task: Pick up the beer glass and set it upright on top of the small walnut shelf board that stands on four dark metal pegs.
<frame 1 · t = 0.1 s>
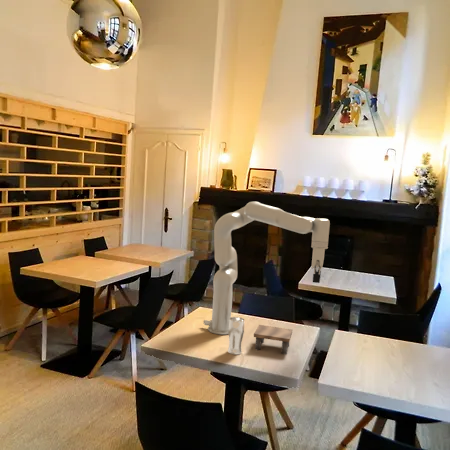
hand: (316, 280, 208), 31 cm above the table, tool pointing down, fingers open, 9 cm apart
peg shelf: (272, 347, 203), on the table
beer glass: (234, 352, 194), on the table
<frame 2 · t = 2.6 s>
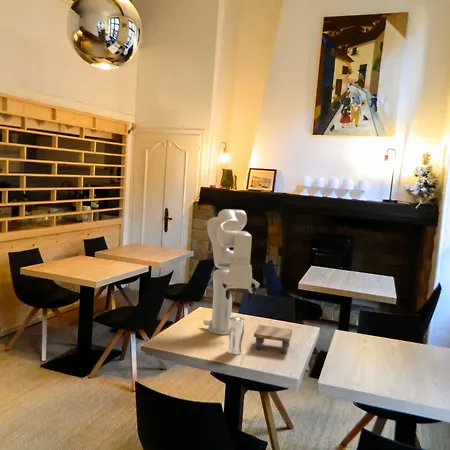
hand: (238, 300, 192), 24 cm above the table, tool pointing down, fingers open, 9 cm apart
nothing on the table moved.
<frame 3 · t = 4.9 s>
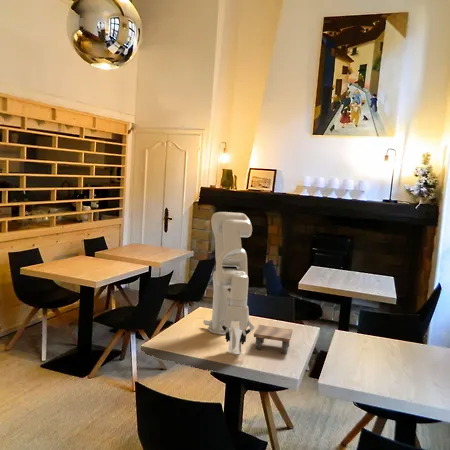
hand: (235, 341, 194), 5 cm above the table, tool pointing down, fingers closed on beer glass, 6 cm apart
beer glass: (234, 352, 194), on the table, touching gripper
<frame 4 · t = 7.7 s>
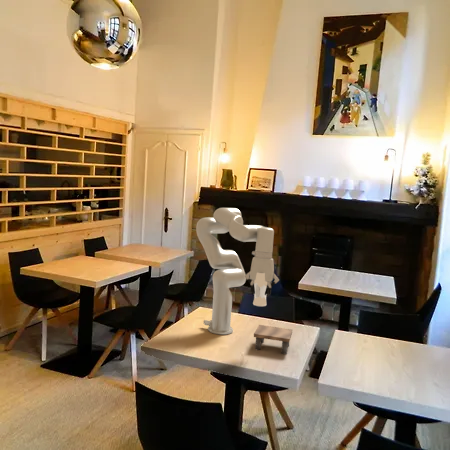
hand: (260, 294, 197), 25 cm above the table, tool pointing down, fingers closed on beer glass, 6 cm apart
beer glass: (259, 304, 197), point 21 cm above the table, touching gripper
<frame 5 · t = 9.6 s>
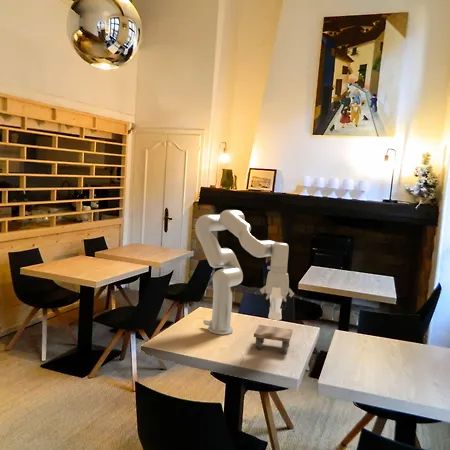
hand: (275, 308, 201), 19 cm above the table, tool pointing down, fingers closed on beer glass, 6 cm apart
beer glass: (274, 318, 202), point 14 cm above the table, touching gripper
when the fingers open (14 cm above the table, at t = 10.9 s): beer glass drops 2 cm, resting on peg shelf.
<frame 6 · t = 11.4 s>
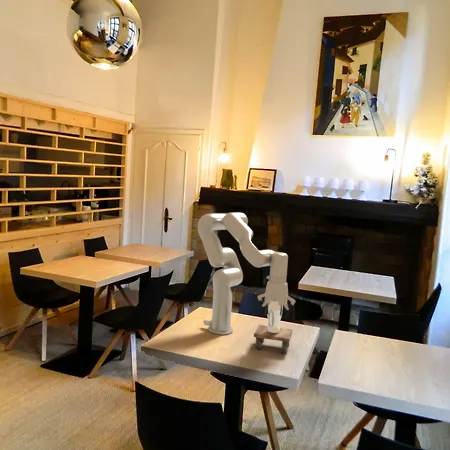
hand: (274, 316, 202), 15 cm above the table, tool pointing down, fingers open, 9 cm apart
beer glass: (273, 331, 202), point 7 cm above the table, touching peg shelf
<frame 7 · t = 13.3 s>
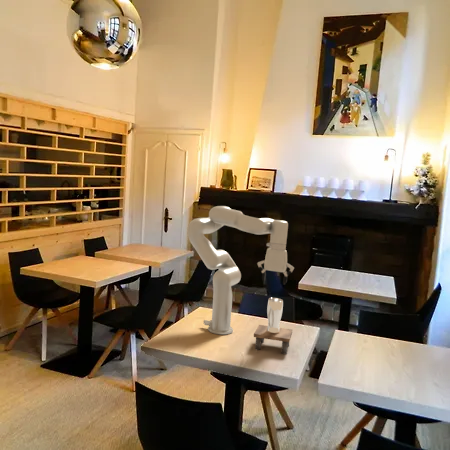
hand: (273, 282, 206), 29 cm above the table, tool pointing down, fingers open, 9 cm apart
nothing on the table moved.
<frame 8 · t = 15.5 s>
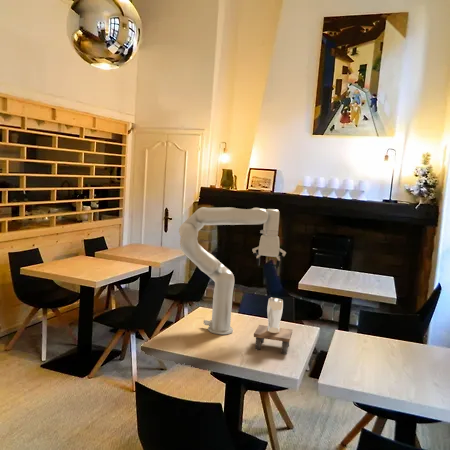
hand: (267, 266, 223), 33 cm above the table, tool pointing down, fingers open, 9 cm apart
nothing on the table moved.
at the end: beer glass inside the target area on the peg shelf (0.2 cm from its centre), point 7.3 cm above the peg shelf's base; beer glass tilted 0°; the gripper is holding nothing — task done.
